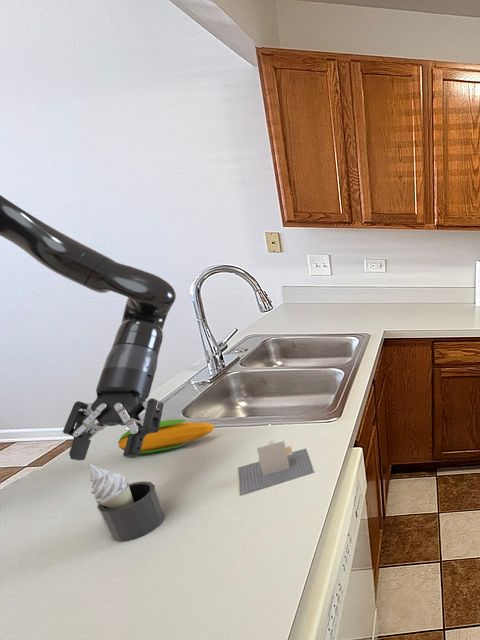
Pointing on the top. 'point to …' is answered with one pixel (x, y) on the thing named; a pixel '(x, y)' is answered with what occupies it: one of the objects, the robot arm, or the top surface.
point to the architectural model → (274, 467)
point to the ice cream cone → (110, 488)
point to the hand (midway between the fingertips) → (103, 458)
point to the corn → (170, 435)
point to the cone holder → (134, 514)
